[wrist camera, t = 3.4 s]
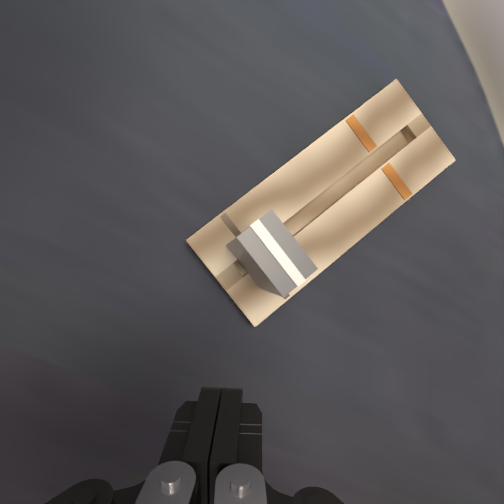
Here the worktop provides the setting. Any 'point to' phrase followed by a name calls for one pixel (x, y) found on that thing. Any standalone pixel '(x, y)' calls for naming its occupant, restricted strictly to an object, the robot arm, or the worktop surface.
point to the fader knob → (272, 255)
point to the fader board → (330, 193)
